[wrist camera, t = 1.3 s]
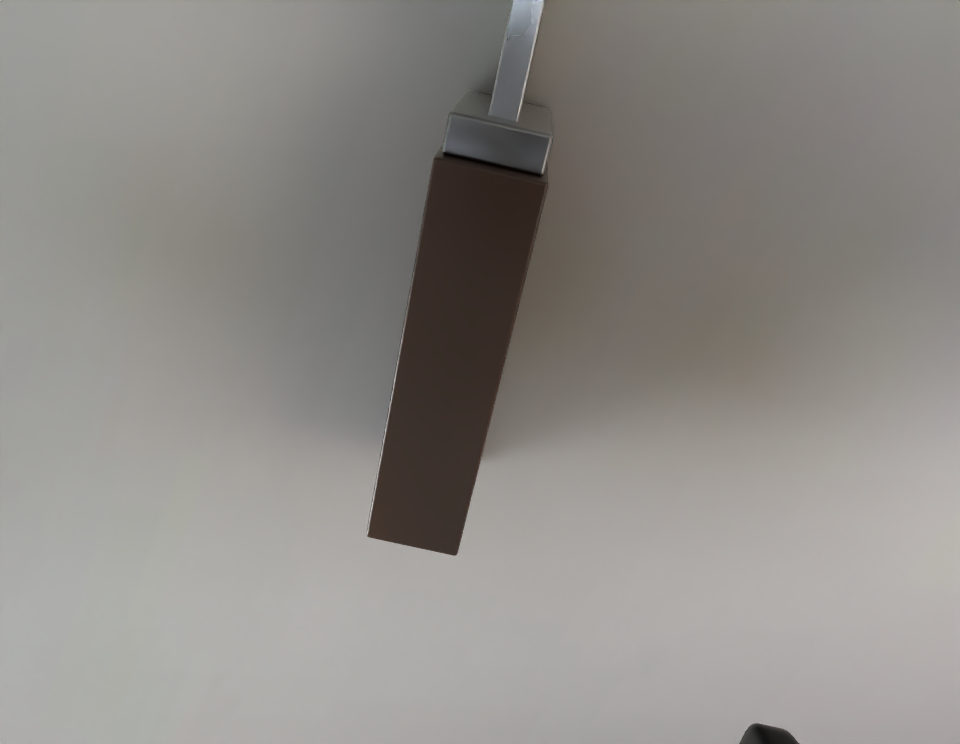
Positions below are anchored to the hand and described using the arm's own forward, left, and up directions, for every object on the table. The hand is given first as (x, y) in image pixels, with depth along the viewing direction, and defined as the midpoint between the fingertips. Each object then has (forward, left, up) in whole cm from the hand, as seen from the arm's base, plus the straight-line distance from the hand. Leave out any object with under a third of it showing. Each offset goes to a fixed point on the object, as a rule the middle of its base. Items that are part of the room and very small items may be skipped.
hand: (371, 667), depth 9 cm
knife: (0, +6, -12) cm, 13 cm away
